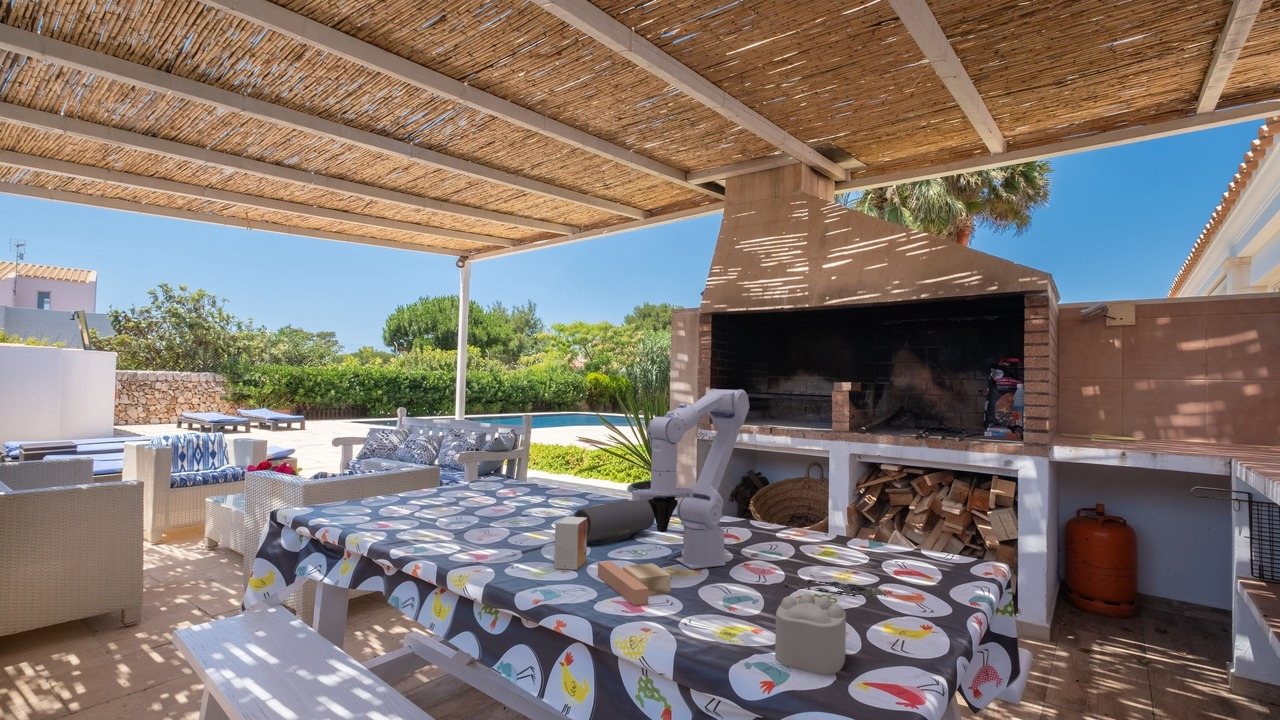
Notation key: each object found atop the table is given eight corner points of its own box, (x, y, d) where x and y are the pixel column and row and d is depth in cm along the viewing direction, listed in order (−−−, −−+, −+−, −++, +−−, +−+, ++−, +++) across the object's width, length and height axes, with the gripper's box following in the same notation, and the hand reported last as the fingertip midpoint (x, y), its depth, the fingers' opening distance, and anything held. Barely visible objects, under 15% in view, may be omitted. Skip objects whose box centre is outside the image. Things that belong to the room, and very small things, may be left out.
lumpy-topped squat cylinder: (769, 663, 99) (770, 606, 99) (788, 634, 110) (789, 584, 111) (838, 678, 94) (839, 619, 94) (850, 646, 106) (851, 594, 106)
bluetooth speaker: (633, 530, 186) (634, 495, 186) (655, 536, 179) (656, 500, 179) (570, 541, 170) (571, 504, 171) (591, 549, 163) (593, 510, 164)
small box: (577, 571, 144) (578, 524, 144) (553, 569, 145) (554, 522, 145) (587, 561, 152) (588, 517, 152) (564, 559, 153) (565, 515, 153)
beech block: (652, 581, 139) (652, 563, 139) (670, 594, 130) (670, 575, 130) (622, 584, 136) (623, 566, 136) (639, 598, 128) (639, 578, 128)
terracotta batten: (610, 574, 142) (610, 561, 142) (648, 603, 124) (648, 588, 124) (597, 575, 141) (598, 562, 141) (634, 605, 122) (634, 590, 122)
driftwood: (888, 594, 135) (888, 584, 135) (887, 604, 129) (887, 594, 129) (789, 582, 143) (789, 572, 143) (784, 590, 136) (784, 580, 137)
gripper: (683, 467, 150) (681, 525, 149) (627, 468, 143) (625, 529, 143) (698, 471, 143) (696, 531, 143) (640, 473, 137) (638, 536, 136)
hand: (662, 531), depth 142 cm, fingers closed
